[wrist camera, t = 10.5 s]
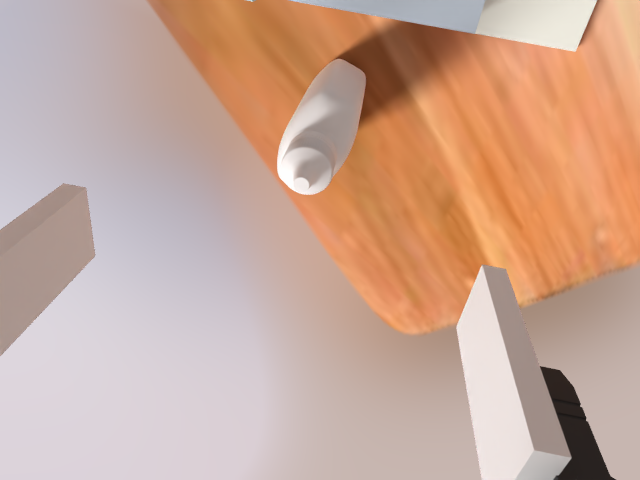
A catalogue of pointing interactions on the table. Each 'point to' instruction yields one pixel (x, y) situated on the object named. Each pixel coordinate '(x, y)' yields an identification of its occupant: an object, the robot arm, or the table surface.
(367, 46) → the table surface
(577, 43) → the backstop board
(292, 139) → the eye dropper bottle
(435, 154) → the table surface
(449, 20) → the cradle block
